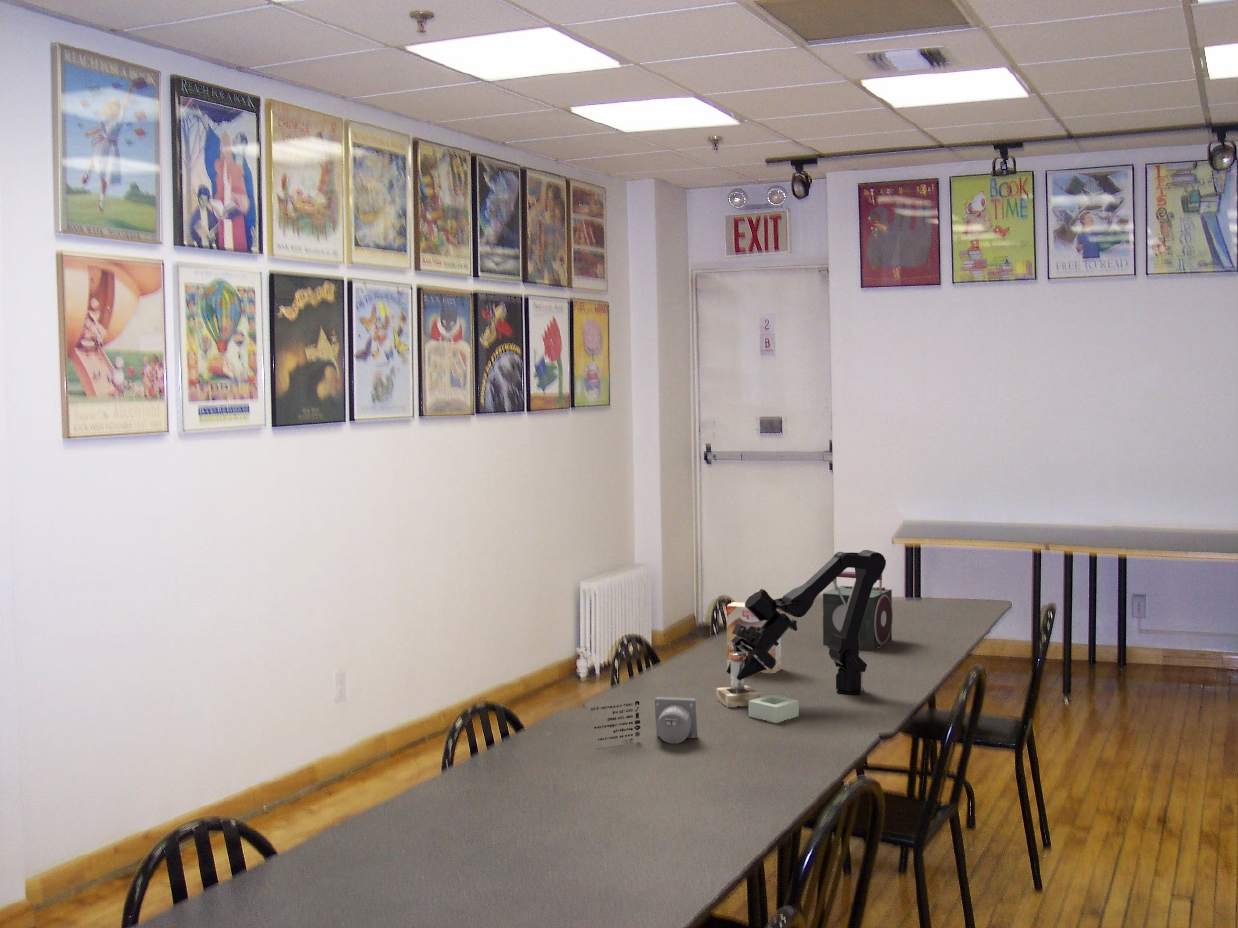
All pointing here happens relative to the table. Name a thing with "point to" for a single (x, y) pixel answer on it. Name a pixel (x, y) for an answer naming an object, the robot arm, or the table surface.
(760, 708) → the dock socket
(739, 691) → the lock pin
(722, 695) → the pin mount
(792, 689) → the table surface
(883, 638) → the boombox
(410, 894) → the table surface
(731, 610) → the coffeecake box
